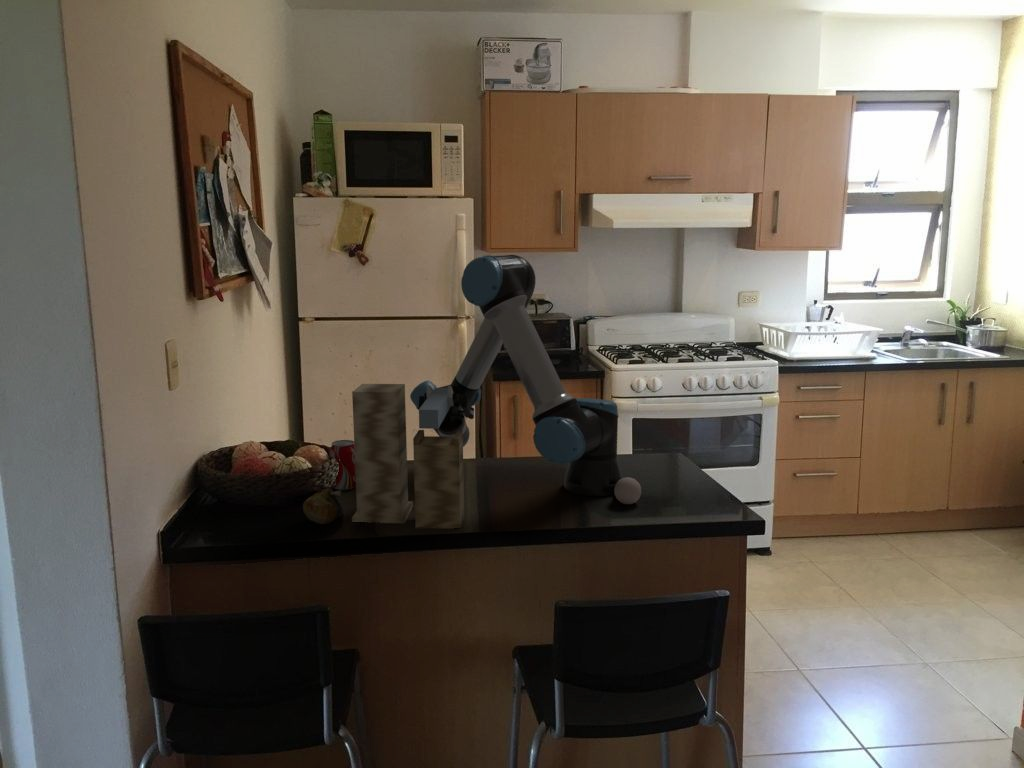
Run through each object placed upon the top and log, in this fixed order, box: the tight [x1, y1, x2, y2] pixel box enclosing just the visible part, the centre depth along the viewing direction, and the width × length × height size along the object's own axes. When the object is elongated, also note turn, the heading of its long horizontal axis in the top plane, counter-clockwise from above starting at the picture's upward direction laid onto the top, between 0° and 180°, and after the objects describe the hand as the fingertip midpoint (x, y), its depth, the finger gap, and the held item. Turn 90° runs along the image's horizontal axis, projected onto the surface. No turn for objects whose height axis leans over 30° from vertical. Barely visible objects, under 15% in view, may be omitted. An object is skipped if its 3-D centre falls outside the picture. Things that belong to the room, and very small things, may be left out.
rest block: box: [412, 429, 465, 529], centre depth 187 cm, size 10×8×20 cm
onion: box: [302, 488, 342, 525], centre depth 189 cm, size 8×8×8 cm
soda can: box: [329, 439, 356, 492], centre depth 214 cm, size 7×7×12 cm
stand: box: [351, 383, 414, 524], centre depth 192 cm, size 12×12×30 cm
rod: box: [418, 387, 451, 430], centre depth 185 cm, size 4×24×4 cm, turn 177°
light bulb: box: [614, 476, 642, 505], centre depth 203 cm, size 7×7×11 cm
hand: (438, 391), depth 188 cm, fingers closed on rod, 4 cm apart
